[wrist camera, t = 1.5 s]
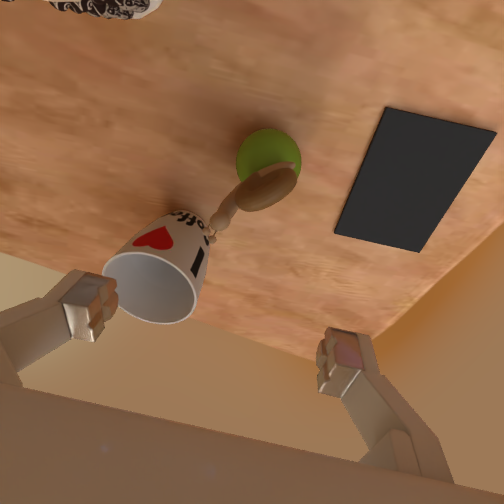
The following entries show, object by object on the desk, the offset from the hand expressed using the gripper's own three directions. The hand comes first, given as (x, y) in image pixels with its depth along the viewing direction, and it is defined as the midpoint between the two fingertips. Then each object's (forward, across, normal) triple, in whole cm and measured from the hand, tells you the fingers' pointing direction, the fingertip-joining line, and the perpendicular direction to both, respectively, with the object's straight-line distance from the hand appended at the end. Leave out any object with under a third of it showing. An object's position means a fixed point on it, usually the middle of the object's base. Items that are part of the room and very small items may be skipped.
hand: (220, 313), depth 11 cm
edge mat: (+19, -13, 0) cm, 23 cm away
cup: (+20, +7, +10) cm, 23 cm away
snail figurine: (+20, 0, 0) cm, 20 cm away
